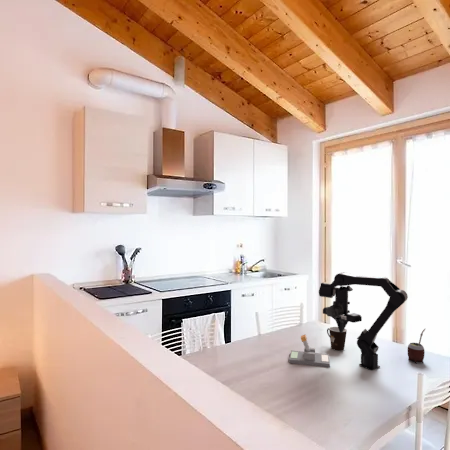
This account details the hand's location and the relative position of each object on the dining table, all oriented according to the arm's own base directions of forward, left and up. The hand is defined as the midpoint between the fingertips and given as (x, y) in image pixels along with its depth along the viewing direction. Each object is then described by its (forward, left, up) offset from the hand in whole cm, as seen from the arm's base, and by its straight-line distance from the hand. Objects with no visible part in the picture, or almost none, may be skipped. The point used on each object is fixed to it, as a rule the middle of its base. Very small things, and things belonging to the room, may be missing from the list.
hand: (341, 332), depth 166 cm
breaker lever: (+7, +13, -10) cm, 18 cm away
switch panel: (+7, +13, -13) cm, 20 cm away
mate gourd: (-19, -30, -13) cm, 38 cm away
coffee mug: (+12, -11, -13) cm, 21 cm away
